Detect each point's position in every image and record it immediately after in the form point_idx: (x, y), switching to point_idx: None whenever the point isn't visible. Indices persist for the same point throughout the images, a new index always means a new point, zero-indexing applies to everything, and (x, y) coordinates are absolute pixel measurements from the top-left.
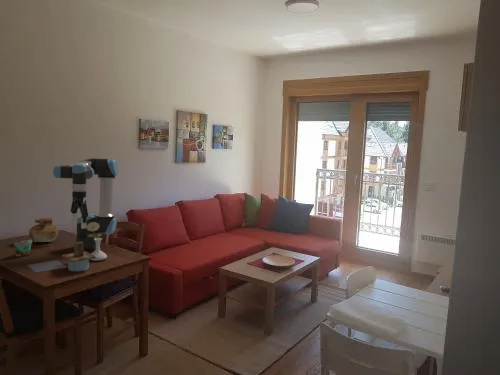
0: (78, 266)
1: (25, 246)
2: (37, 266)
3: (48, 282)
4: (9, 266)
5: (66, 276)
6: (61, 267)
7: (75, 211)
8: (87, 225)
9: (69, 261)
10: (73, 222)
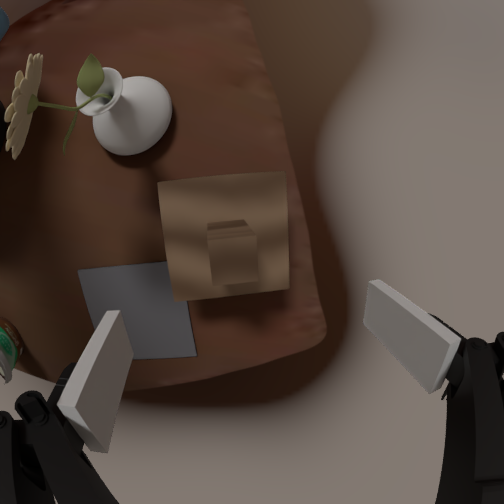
0: None
1: (5, 352)
2: (131, 340)
3: (305, 336)
4: None
5: None
6: None
7: (79, 456)
8: (13, 150)
9: None
10: (126, 359)
